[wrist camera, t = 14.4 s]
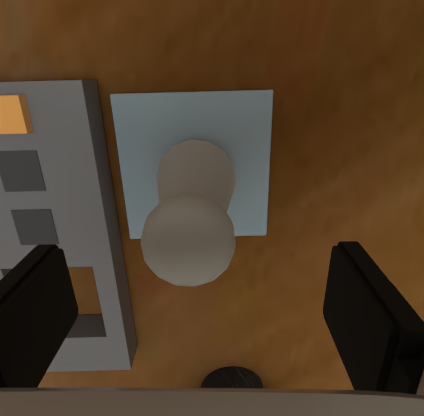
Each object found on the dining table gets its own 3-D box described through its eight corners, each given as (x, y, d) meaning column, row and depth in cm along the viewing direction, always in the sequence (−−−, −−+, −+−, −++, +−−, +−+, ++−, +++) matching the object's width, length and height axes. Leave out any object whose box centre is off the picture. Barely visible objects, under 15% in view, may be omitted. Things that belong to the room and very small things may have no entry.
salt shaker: (172, 123, 24) (136, 169, 12) (243, 147, 25) (276, 212, 13) (153, 192, 26) (106, 290, 14) (219, 212, 27) (228, 321, 15)
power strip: (-52, 83, 23) (-99, 84, 20) (96, 79, 23) (76, 80, 20) (33, 347, 33) (12, 380, 30) (137, 345, 33) (129, 376, 30)
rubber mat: (112, 93, 23) (109, 94, 23) (271, 89, 23) (273, 89, 23) (131, 235, 28) (130, 238, 28) (265, 232, 28) (266, 235, 28)
